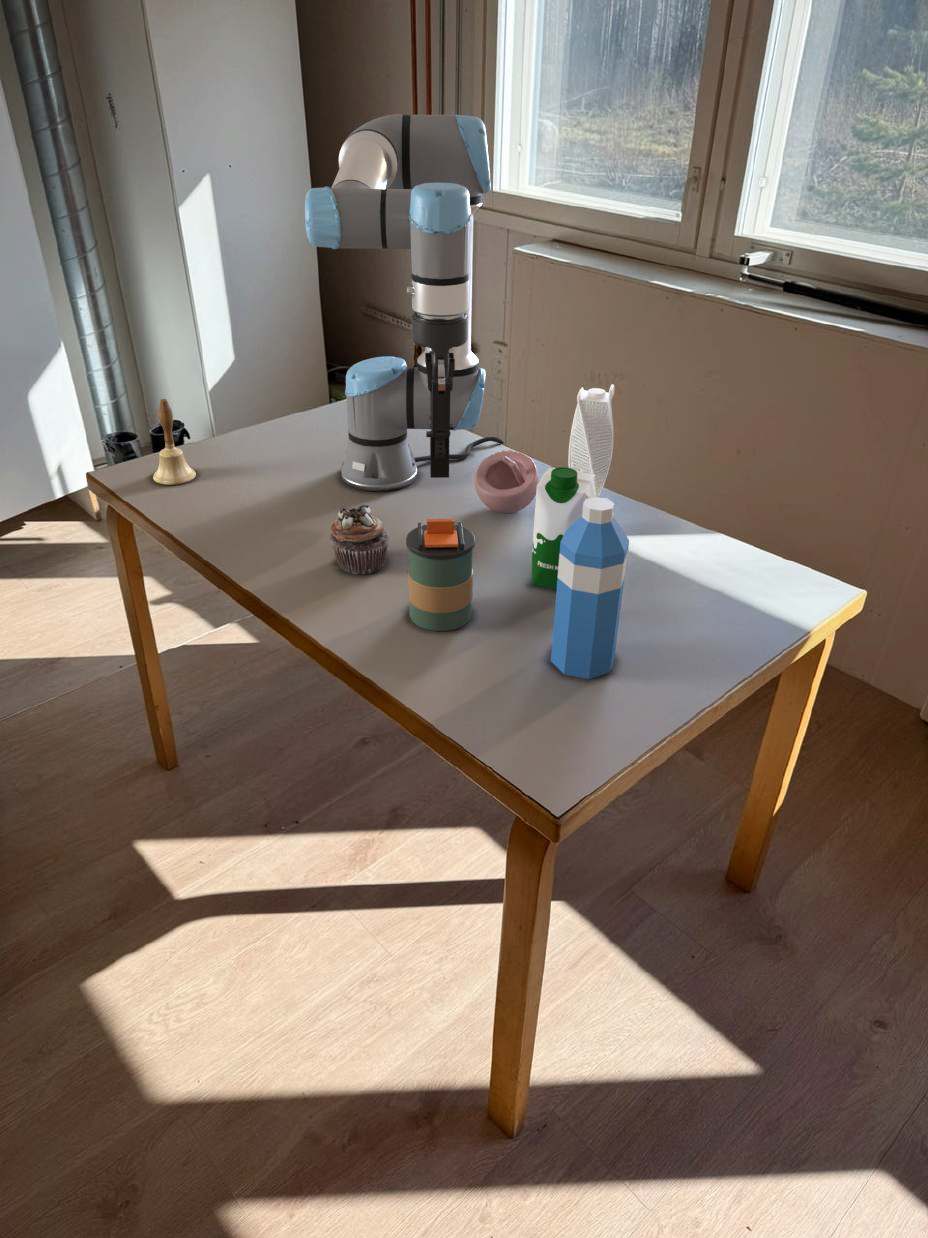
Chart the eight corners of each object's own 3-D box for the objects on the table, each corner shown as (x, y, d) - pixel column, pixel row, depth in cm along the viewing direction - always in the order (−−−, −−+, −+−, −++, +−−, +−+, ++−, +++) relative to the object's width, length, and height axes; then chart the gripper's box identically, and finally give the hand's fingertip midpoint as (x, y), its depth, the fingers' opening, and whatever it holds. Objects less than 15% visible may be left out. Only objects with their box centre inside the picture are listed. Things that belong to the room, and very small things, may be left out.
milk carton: (525, 586, 151) (532, 474, 140) (539, 561, 158) (547, 452, 147) (577, 596, 149) (589, 482, 138) (589, 570, 156) (601, 460, 145)
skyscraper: (613, 536, 166) (631, 385, 151) (580, 546, 163) (595, 392, 148) (586, 519, 172) (601, 371, 157) (554, 528, 169) (565, 378, 154)
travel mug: (408, 598, 147) (406, 528, 141) (469, 597, 148) (471, 527, 141) (408, 632, 139) (407, 560, 132) (474, 631, 140) (476, 558, 133)
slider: (424, 533, 137) (424, 518, 135) (456, 533, 137) (456, 517, 136) (424, 547, 133) (424, 532, 132) (458, 547, 133) (458, 531, 132)
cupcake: (345, 582, 151) (342, 527, 146) (325, 556, 158) (321, 503, 153) (399, 569, 155) (397, 515, 150) (376, 545, 162) (374, 493, 157)
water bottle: (545, 643, 137) (557, 489, 124) (607, 640, 138) (625, 487, 124) (556, 680, 129) (570, 520, 116) (621, 677, 130) (642, 518, 117)
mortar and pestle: (464, 517, 172) (465, 459, 166) (487, 492, 181) (488, 437, 175) (525, 529, 168) (528, 470, 162) (545, 503, 178) (549, 447, 171)
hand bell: (181, 465, 190) (169, 389, 181) (204, 476, 185) (192, 400, 177) (145, 476, 185) (131, 399, 176) (167, 489, 180) (153, 410, 172)
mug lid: (405, 528, 141) (405, 518, 140) (472, 527, 141) (472, 517, 140) (406, 560, 132) (406, 550, 131) (477, 559, 133) (477, 549, 132)
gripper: (411, 299, 128) (413, 457, 141) (412, 326, 117) (414, 495, 130) (465, 299, 128) (462, 457, 141) (471, 326, 117) (467, 494, 130)
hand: (439, 475), depth 135 cm, fingers closed
